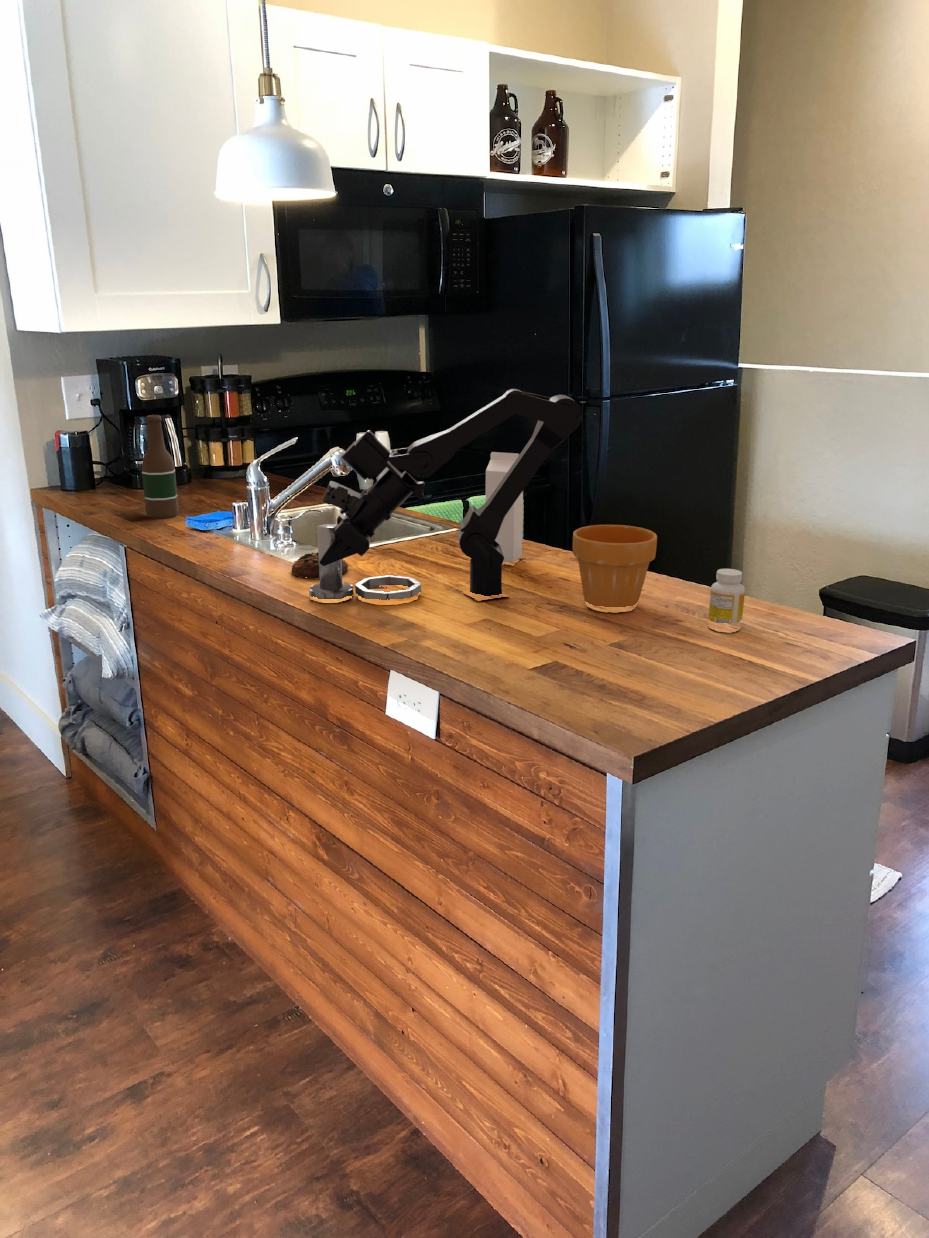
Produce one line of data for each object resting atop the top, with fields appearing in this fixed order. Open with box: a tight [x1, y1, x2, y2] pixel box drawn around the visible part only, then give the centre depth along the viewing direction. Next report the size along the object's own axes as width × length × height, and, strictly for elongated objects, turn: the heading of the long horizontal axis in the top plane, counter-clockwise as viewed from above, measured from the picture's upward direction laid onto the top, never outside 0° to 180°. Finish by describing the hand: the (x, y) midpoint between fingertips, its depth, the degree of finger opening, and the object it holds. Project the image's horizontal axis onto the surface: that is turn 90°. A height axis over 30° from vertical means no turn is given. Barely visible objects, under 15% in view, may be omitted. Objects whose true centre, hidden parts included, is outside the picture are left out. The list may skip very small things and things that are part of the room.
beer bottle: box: [141, 414, 179, 519], centre depth 242 cm, size 8×8×24 cm
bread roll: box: [290, 551, 349, 578], centre depth 197 cm, size 11×11×5 cm
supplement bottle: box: [707, 568, 746, 623], centre depth 163 cm, size 5×5×10 cm
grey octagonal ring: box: [354, 574, 422, 600], centre depth 181 cm, size 11×11×2 cm
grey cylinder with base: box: [308, 523, 354, 599], centre depth 178 cm, size 8×8×13 cm
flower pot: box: [572, 524, 658, 607], centre depth 174 cm, size 14×14×13 cm
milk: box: [485, 451, 524, 562], centre depth 201 cm, size 6×6×22 cm
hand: (322, 561), depth 178 cm, fingers closed on grey cylinder with base, 4 cm apart
